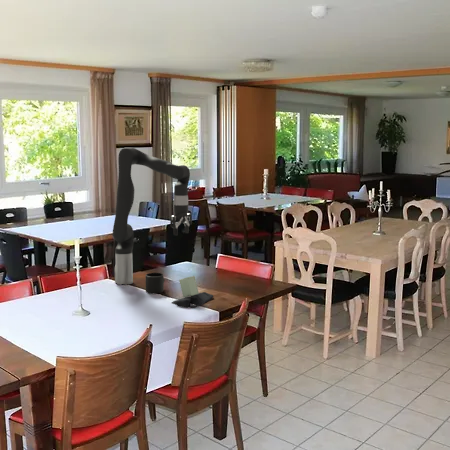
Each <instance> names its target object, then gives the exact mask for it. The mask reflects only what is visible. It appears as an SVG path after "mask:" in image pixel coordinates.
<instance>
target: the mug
mask: <svg viewBox="0 0 450 450" xmlns="http://www.w3.org/2000/svg"><path fill="white" fill-rule="evenodd" d="M144 278H145V292H146V293H147V292H148V294H153V293H154V294H160V293H163V292H164V290H165V289H164V284H165V283H164V282H165V278H164V273H162V272H148V273H146V274H145V277H144Z"/></svg>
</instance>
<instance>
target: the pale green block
mask: <svg viewBox="0 0 450 450" xmlns="http://www.w3.org/2000/svg"><path fill="white" fill-rule="evenodd" d="M178 281H179V285H180V289H181V292H182V294H181V295H182V298H185V297H189V296H193V295H196V294H199V293H200V292H199V288H198V285H197V280H196V276H195V275H193V276H188V277H184V278H181V279H179V280H178Z"/></svg>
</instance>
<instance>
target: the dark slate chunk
mask: <svg viewBox="0 0 450 450" xmlns="http://www.w3.org/2000/svg"><path fill="white" fill-rule="evenodd" d="M212 299H214V295H213V294H211V293H208V292H206V291H202V292H199V294H196V295H193V296H188V297H182V298H180V299H176V300H173V301H171V304H173V305H176V306H177V307H181V308H185V309H196V308H198V307H200V306H203V305H204V304H205V303H207V302H209V301H211V300H212ZM193 304H194V305H193Z"/></svg>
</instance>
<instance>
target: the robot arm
mask: <svg viewBox="0 0 450 450" xmlns="http://www.w3.org/2000/svg"><path fill="white" fill-rule="evenodd" d="M133 165H139V166H144V167H147V168H149V169H151V170H152V171H154V172H155V173H159V174H163V175H166V176H169V177H170V178H173V179H175V180H177V181H176V184H175V185H174V187H173V188H174V189H173V191H174V193H173V212H174V215H170V222H169V223H170V224H169V227H170V228H172V231H173V236H178V234H179V232H178V231H179V229H178V227H179V226H180V225H181V224H184V233H185V234H189V231H190V226H191V225H193V219H192V213H190V212H189V195H188V194H189V187H188V186H189V182H190V179H191V178H190V176H191V173H190V169H189V167H188V166H187V165H185V164H184V165H183V164H182V165H177V164H174V163H172V162H171V161H169V160H165V159H163V158H159V157H155V156H152V155H149V154H147V153H145V152H143V151H141V150H139V149H137V148H135V147H124V148H121V149H120V150H119V153H118V175H117V176H118V177H117V178H118V180H117V189H116V190H117V191H116V203H115V216H114V223H113V225H112V226H113V227H112V237H113V239H114V240H115V241H116V242H117V245H116V247H115V249H114V250H115V251H114V253H115V266H114V283H117V284H116V285H119V284H128V285H131V284H133V283H134V279H133V278H134V277H133V274H134V272H133V266H134V265H133V249H134V242H135V241H134V237H135V236H134V234H135V233H134V228H133V226H131V225H130V224H129V223H128V221H129V216H130V213H131V211H132V208H133V205H134V202H135V201H134V199H135V186H134V183H133V180H132V179H133V178H132V166H133Z"/></svg>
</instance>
